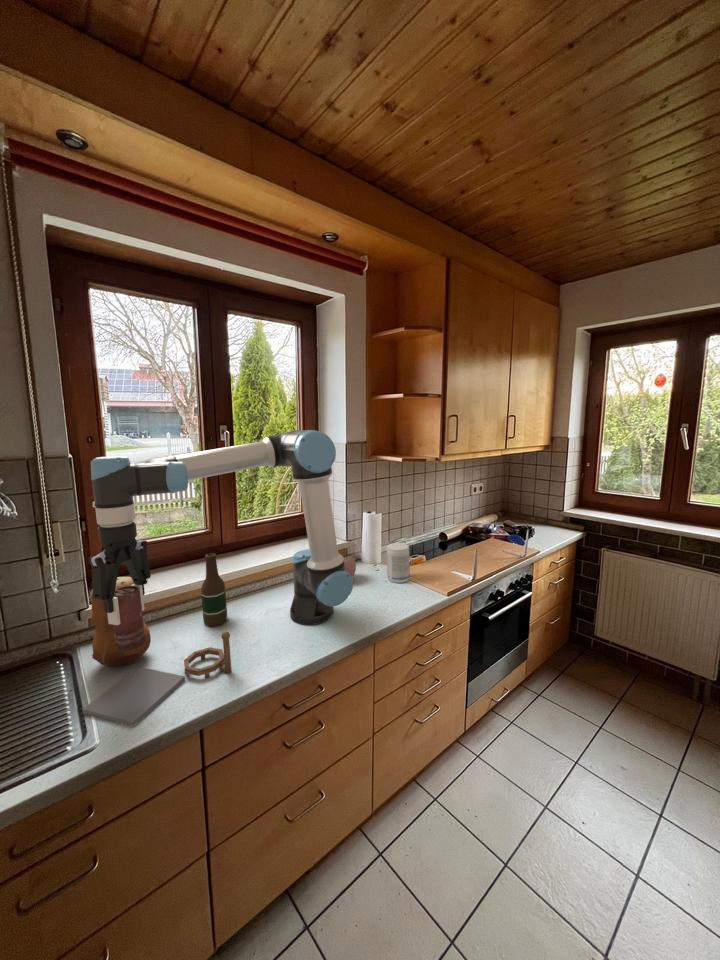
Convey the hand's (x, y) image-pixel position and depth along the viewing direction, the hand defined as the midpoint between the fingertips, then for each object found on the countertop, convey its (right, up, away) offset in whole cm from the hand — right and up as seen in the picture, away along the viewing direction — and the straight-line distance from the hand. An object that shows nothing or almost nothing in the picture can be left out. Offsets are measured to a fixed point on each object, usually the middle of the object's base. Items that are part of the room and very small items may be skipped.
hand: (127, 616), depth 91 cm
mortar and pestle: (+48, -10, +71) cm, 86 cm away
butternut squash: (-11, -19, +17) cm, 28 cm away
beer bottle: (+7, -16, +38) cm, 42 cm away
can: (0, -7, +1) cm, 8 cm away
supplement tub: (+72, -10, +71) cm, 102 cm away
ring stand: (+15, -19, +13) cm, 28 cm away
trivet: (+1, -21, +3) cm, 21 cm away
